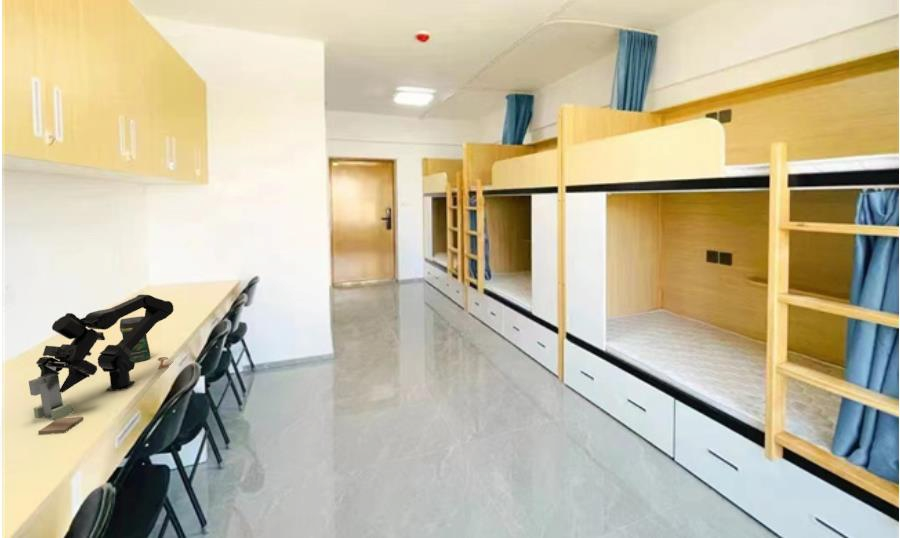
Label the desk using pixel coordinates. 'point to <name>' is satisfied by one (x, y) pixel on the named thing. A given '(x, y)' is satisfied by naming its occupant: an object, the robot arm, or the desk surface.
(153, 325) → the robot arm
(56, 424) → the walnut board
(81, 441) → the desk surface
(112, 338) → the desk surface
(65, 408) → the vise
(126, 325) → the coffee jar
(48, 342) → the desk surface
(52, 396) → the stepped metal bracket
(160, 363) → the key
